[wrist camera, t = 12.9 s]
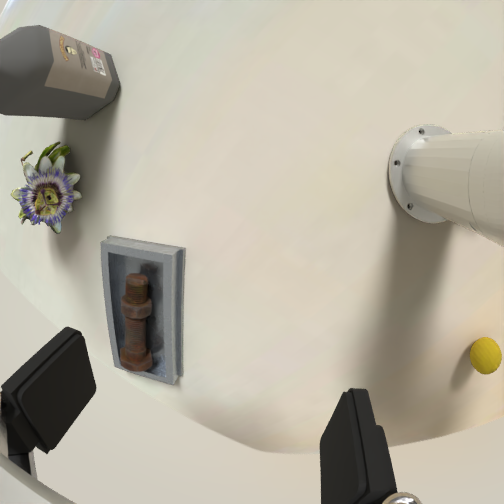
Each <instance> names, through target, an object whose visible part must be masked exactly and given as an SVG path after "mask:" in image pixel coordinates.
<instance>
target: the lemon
mask: <svg viewBox="0 0 504 504" xmlns="http://www.w3.org/2000/svg"><path fill="white" fill-rule="evenodd" d="M501 359H502V354H501V350H500V348H499V346H498V344H497V343H496V342H495V341H494V340H493V339H491V338H488V337H483V338H480V339H478V340H477V341H476V342H475V343H474V344H473V345H472V347H471V350H470V360H471V363H472V365H473V367H474V368H475V369H476V370H477V371H478V372H480V373H482V374H491V373H493V372H494V371H496V370H497V368H498V367H499V365H500V363H501Z"/></svg>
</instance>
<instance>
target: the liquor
mask: <svg viewBox="0 0 504 504" xmlns="http://www.w3.org/2000/svg"><path fill="white" fill-rule="evenodd" d="M119 86H120V81H119V78H118V75H117V72H116V69H115V66H114V63H113V60H112V56H111V55H110V54H108V53H106V52H104V51H102V50H100V49H97V48H95V47H93V46H91V45H88V44H86V43H84V42H81V41H79V40H77V39H74V38H72V37H69V36H67V35H64V34H62V33H59V32H57V31H54V30H51V29H49V28H46V27H43V26H40V25H36V26H26V27H20V28H17V29H16V30H14V31H13V32H11V33H9V34H8V35H6V36H5V37H3V38H2V39H0V114H3V115H14V116H40V117H56V118H68V119H79V120H86V119H88V118H89V117H90V116H92V115H93V114H94V113H96V112H97V111H99V110H100V109H101V108H103V107H104V106H106V105H107V104H109V103H110V102H111V101H113V100H114V98H115V96H116V93H117V91H118V88H119Z"/></svg>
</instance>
